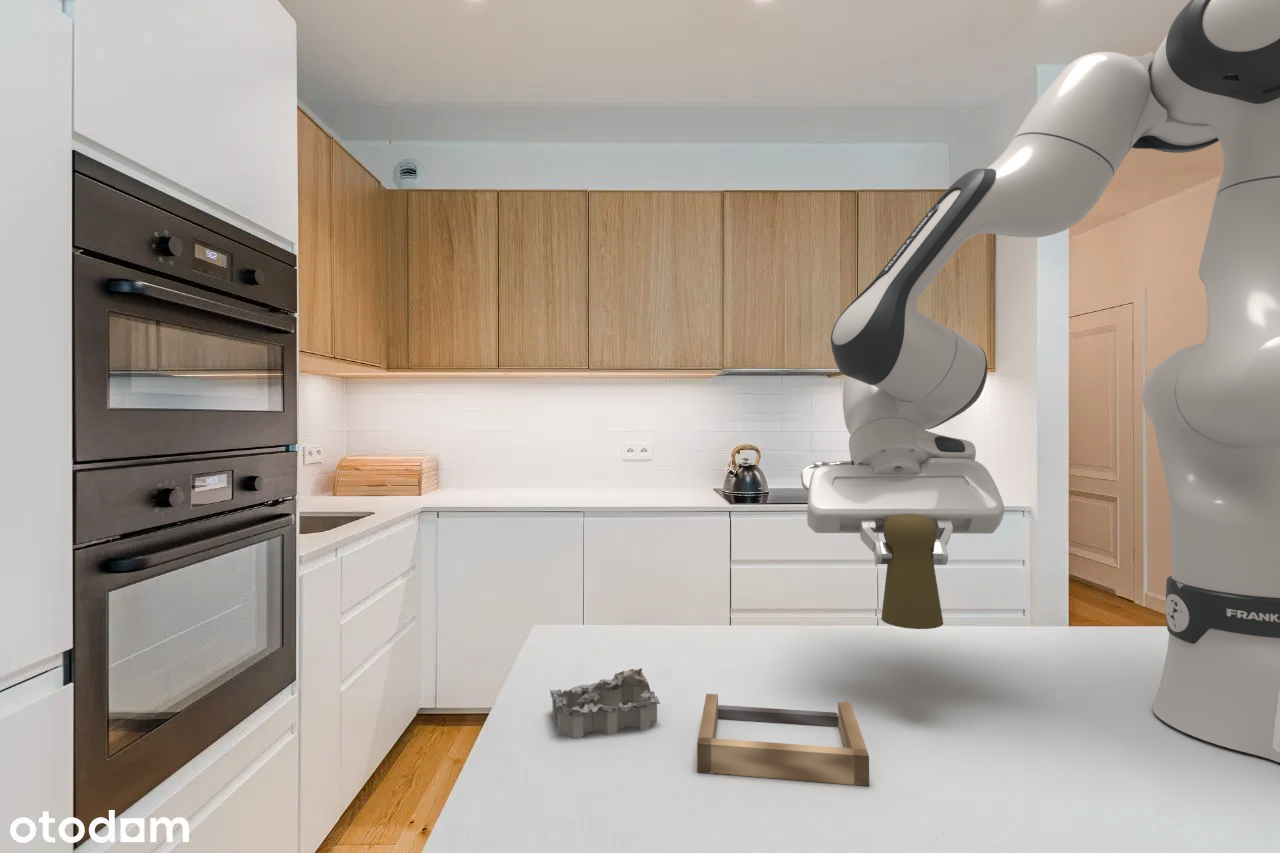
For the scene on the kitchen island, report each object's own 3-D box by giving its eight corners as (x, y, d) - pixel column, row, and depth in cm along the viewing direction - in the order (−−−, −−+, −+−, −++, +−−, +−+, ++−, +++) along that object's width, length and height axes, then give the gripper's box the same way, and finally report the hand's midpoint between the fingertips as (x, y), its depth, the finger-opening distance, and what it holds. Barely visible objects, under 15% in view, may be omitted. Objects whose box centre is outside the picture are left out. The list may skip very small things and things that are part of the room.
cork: (949, 630, 67) (947, 518, 67) (885, 627, 68) (882, 518, 68) (936, 613, 73) (934, 511, 73) (877, 611, 74) (875, 511, 74)
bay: (849, 723, 69) (849, 698, 69) (869, 786, 57) (869, 756, 57) (707, 713, 71) (707, 689, 71) (697, 772, 59) (697, 743, 59)
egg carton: (645, 703, 75) (646, 666, 75) (663, 733, 68) (663, 692, 68) (548, 712, 73) (549, 673, 73) (556, 744, 65) (556, 701, 65)
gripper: (800, 445, 79) (809, 542, 70) (988, 441, 76) (1025, 544, 66) (799, 480, 84) (807, 577, 74) (976, 478, 80) (1009, 579, 71)
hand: (911, 561), depth 70 cm, fingers closed on cork, 4 cm apart
